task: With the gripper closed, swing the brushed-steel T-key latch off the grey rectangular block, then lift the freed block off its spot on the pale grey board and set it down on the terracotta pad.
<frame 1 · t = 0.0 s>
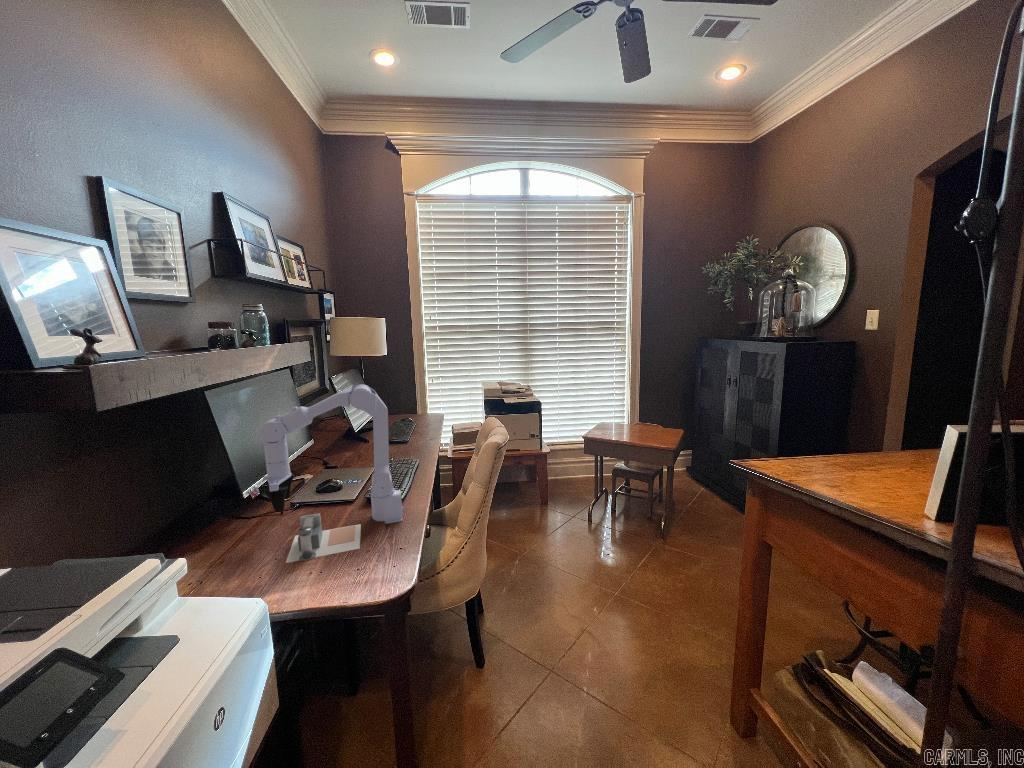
hand: (282, 504, 113), 10 cm above the table, tool pointing down, fingers open, 7 cm apart
latch: (308, 534, 105), point 5 cm above the table, hinge at 0.0°
grey rectangular block: (311, 542, 108), point 1 cm above the table, touching board
board: (326, 545, 109), on the table
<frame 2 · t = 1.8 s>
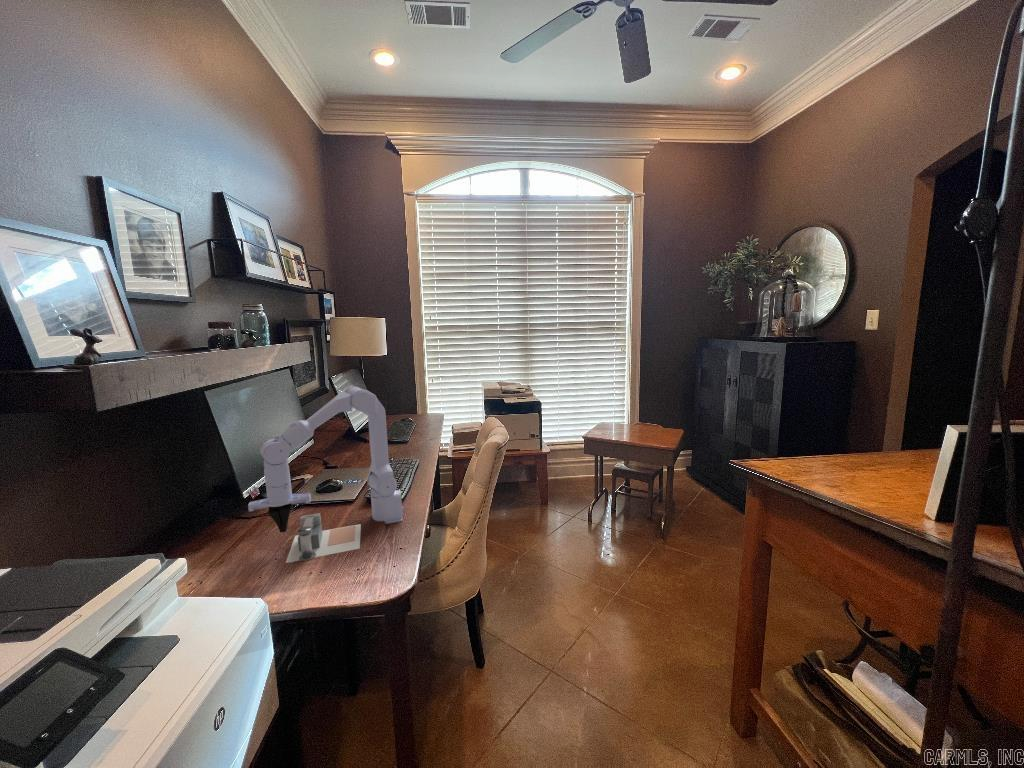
hand: (283, 530, 105), 6 cm above the table, tool pointing down, fingers closed
nothing on the table moved.
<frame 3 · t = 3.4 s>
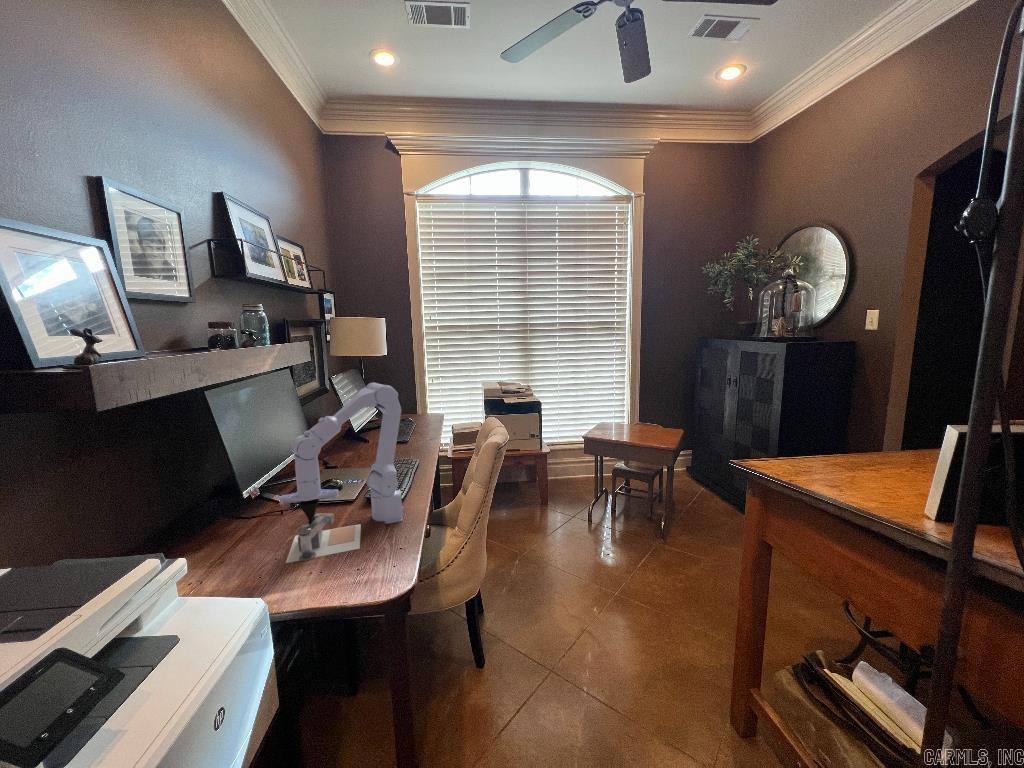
hand: (312, 524, 108), 7 cm above the table, tool pointing down, fingers closed, pressing on latch
latch: (314, 533, 106), point 5 cm above the table, hinge at -22.0°, touching gripper
everything else where it was.
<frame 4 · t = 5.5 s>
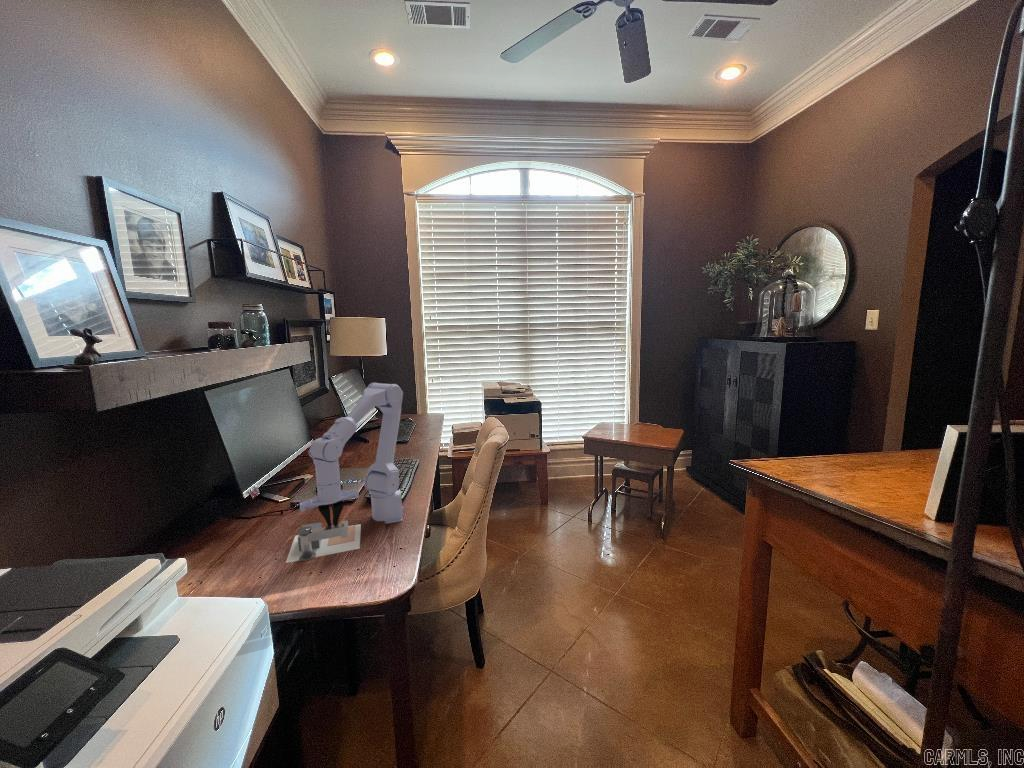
hand: (332, 528, 106), 6 cm above the table, tool pointing down, fingers closed
latch: (324, 539, 103), point 5 cm above the table, hinge at -88.6°, touching gripper
everything else where it was.
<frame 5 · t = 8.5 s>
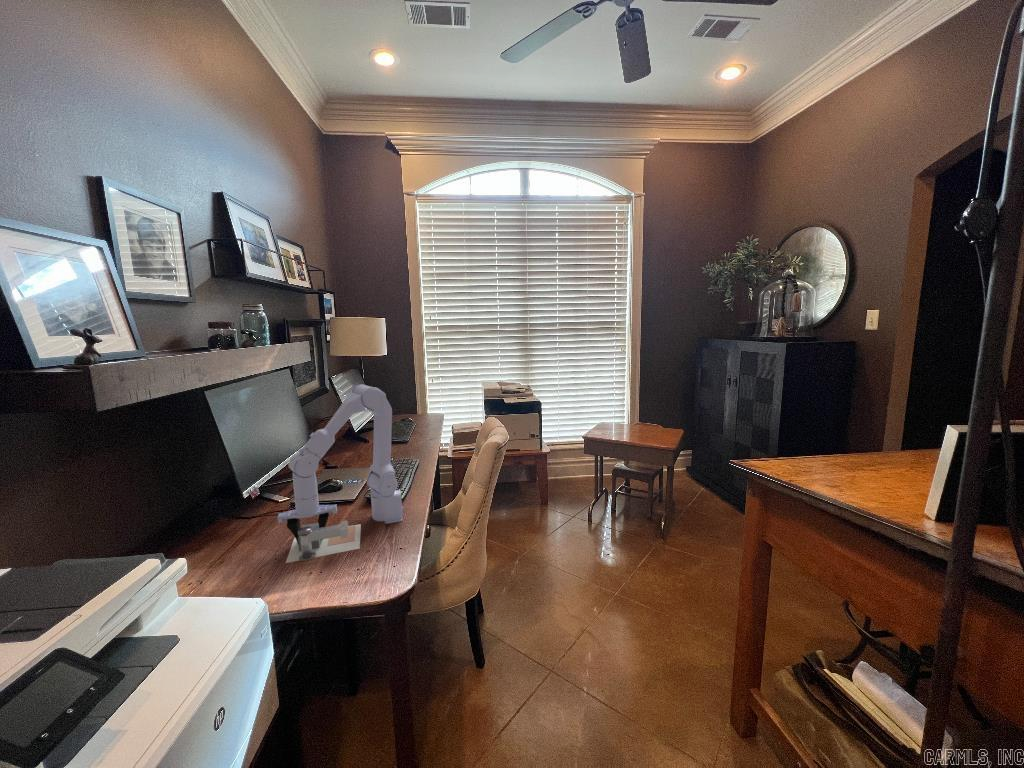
hand: (311, 540, 108), 2 cm above the table, tool pointing down, fingers closed on grey rectangular block, 5 cm apart
latch: (324, 539, 103), point 5 cm above the table, hinge at -88.7°
grey rectangular block: (311, 542, 108), point 1 cm above the table, touching board, gripper
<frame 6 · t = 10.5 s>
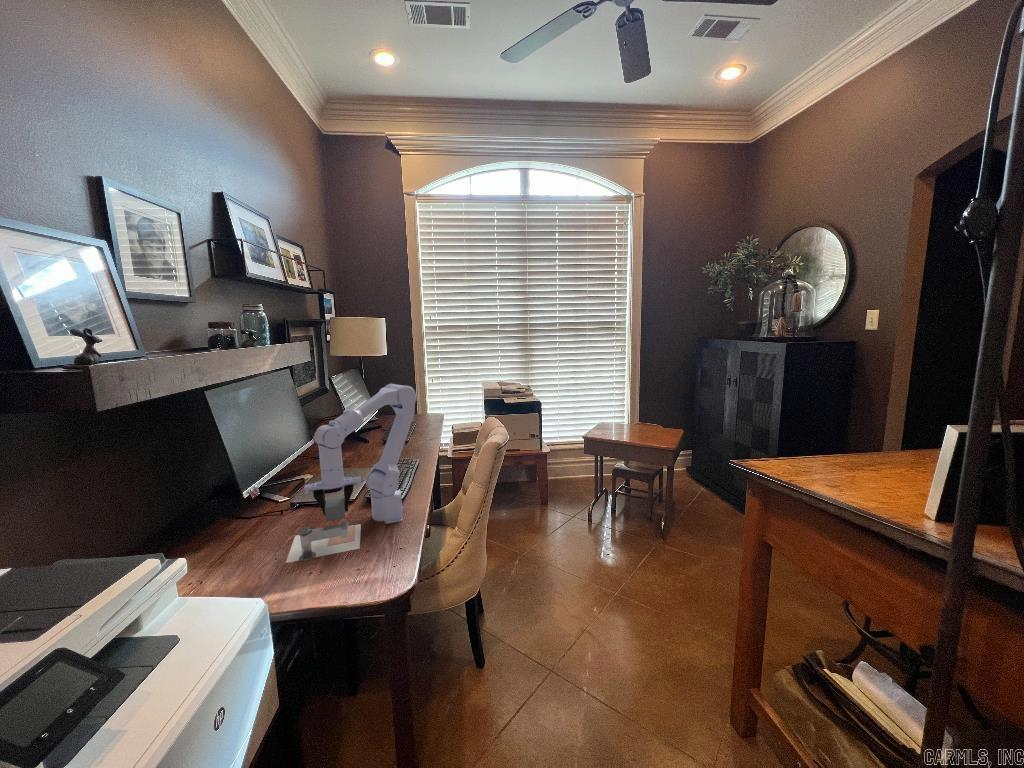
hand: (336, 511, 110), 9 cm above the table, tool pointing down, fingers closed on grey rectangular block, 5 cm apart
grey rectangular block: (336, 514, 111), point 8 cm above the table, touching gripper
everything else where it was.
when the fingers open (3 cm above the table, at t = 12.3 s): grey rectangular block stays where it is, resting on board.
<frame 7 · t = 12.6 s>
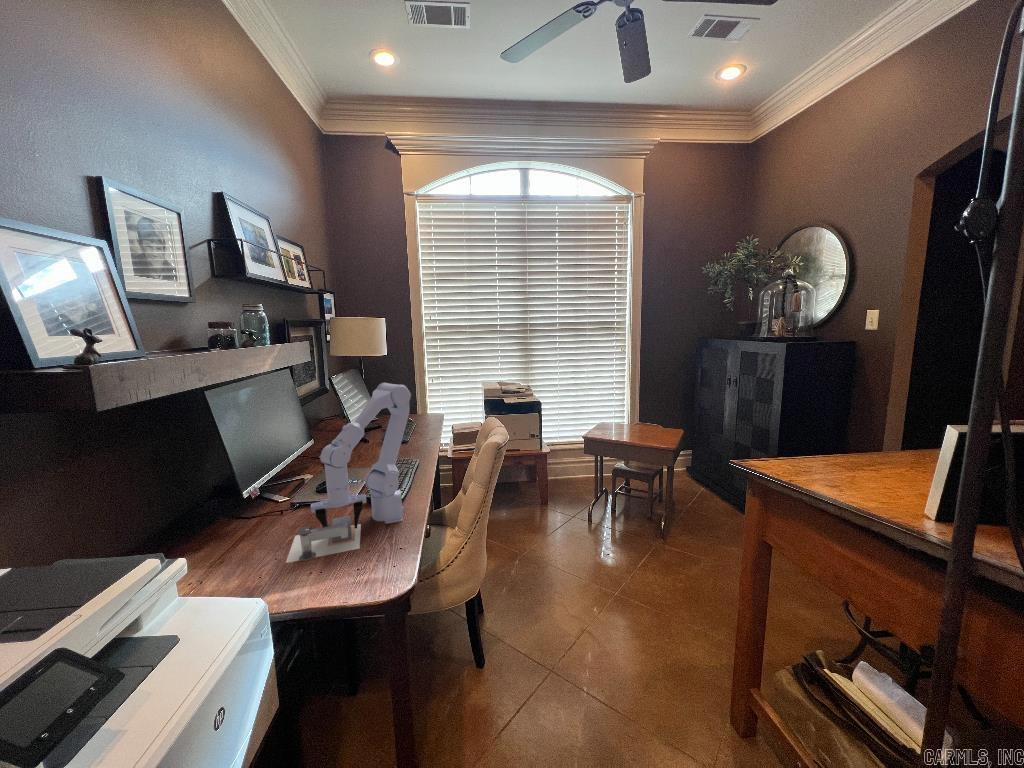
hand: (341, 529, 112), 3 cm above the table, tool pointing down, fingers open, 7 cm apart
grey rectangular block: (342, 535, 112), point 1 cm above the table, touching board
everything else where it was.
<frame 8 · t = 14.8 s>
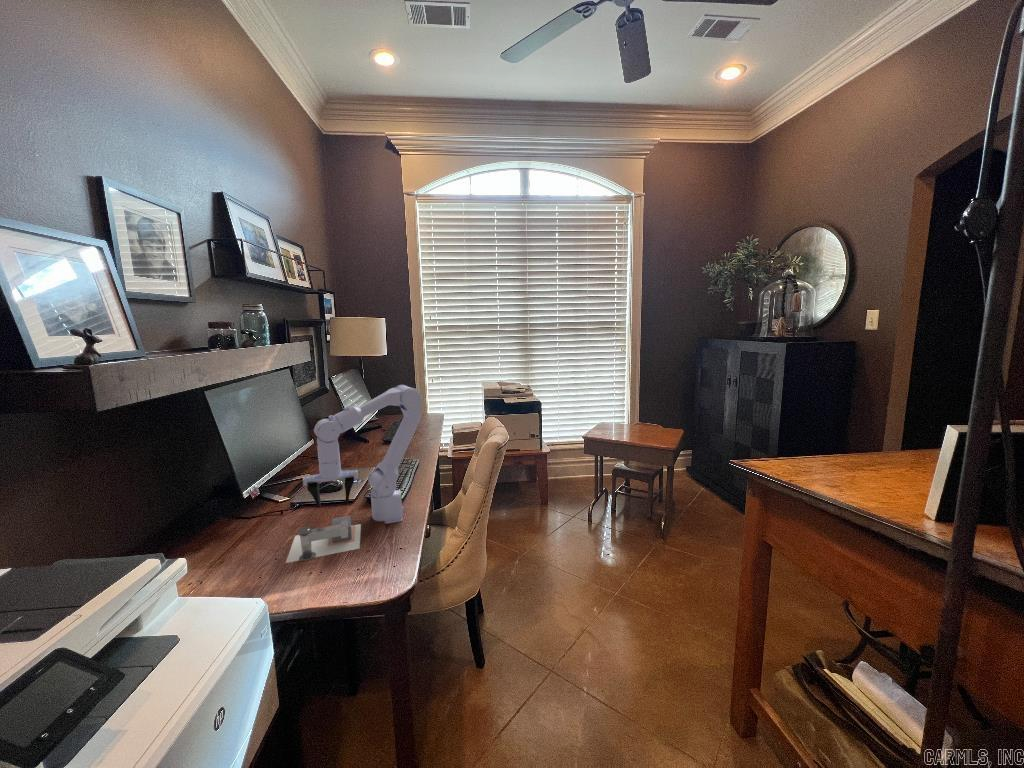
hand: (333, 503, 114), 9 cm above the table, tool pointing down, fingers open, 7 cm apart
nothing on the table moved.
at the end: latch at -89° (first picture: +0°); grey rectangular block 0.1 cm from the target spot, point 1.1 cm above the table; grey rectangular block tilted 0° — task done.
